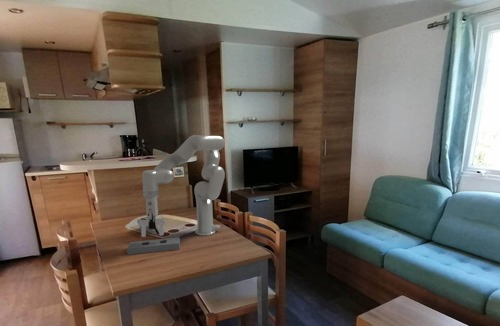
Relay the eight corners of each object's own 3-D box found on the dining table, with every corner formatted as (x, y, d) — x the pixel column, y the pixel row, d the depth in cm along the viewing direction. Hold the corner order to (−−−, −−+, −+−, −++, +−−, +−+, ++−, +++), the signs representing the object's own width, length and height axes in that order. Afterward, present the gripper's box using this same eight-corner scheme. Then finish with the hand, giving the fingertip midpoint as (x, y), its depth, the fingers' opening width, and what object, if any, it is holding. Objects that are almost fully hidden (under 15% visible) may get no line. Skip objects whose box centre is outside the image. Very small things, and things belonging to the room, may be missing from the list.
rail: (179, 243, 155) (179, 237, 154) (179, 249, 147) (179, 243, 147) (130, 248, 149) (130, 242, 149) (127, 255, 142) (126, 248, 141)
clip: (165, 233, 150) (165, 218, 149) (165, 235, 147) (164, 220, 146) (140, 235, 147) (139, 220, 146) (139, 237, 144) (138, 221, 143)
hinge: (162, 232, 171) (156, 219, 167) (156, 237, 168) (150, 223, 164) (146, 226, 181) (141, 214, 177) (140, 231, 178) (134, 218, 174)
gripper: (156, 197, 137) (158, 232, 139) (160, 190, 153) (161, 222, 155) (140, 198, 135) (142, 233, 138) (145, 190, 151) (147, 223, 153)
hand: (152, 227), depth 146 cm, fingers closed on clip, 3 cm apart
